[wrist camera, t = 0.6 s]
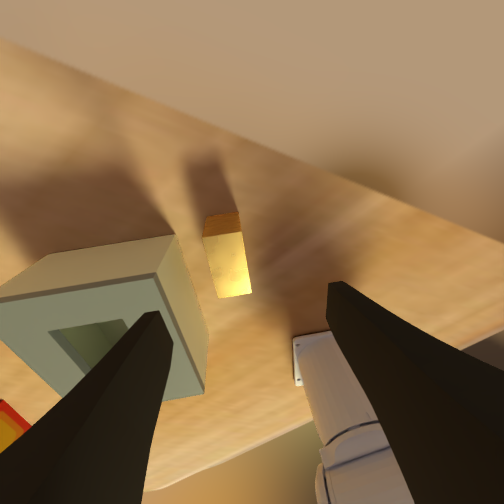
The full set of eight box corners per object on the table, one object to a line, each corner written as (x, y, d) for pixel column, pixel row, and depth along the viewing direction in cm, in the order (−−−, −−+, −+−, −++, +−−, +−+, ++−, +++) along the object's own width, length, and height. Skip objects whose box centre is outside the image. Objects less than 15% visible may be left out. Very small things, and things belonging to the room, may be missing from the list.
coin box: (209, 334, 23) (204, 393, 18) (115, 351, 23) (82, 416, 17) (175, 234, 17) (153, 278, 12) (48, 254, 17) (-33, 308, 11)
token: (247, 264, 19) (251, 292, 16) (219, 268, 19) (218, 298, 16) (238, 211, 17) (241, 231, 13) (206, 216, 17) (201, 237, 13)
